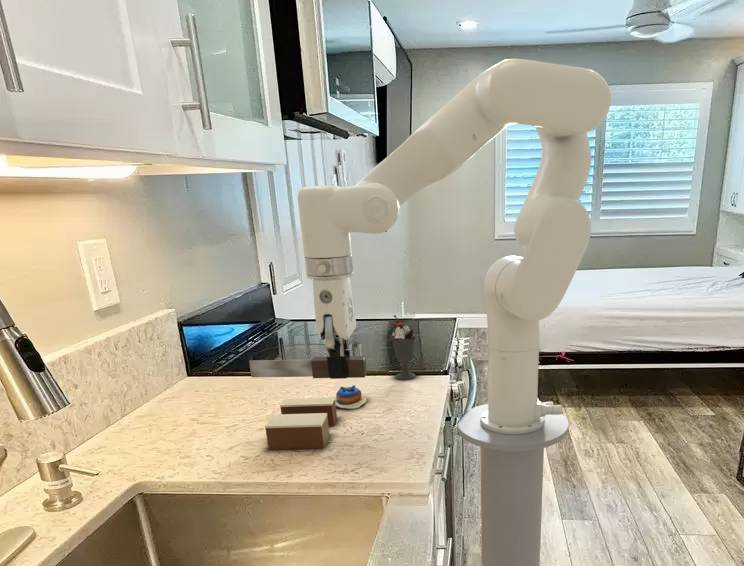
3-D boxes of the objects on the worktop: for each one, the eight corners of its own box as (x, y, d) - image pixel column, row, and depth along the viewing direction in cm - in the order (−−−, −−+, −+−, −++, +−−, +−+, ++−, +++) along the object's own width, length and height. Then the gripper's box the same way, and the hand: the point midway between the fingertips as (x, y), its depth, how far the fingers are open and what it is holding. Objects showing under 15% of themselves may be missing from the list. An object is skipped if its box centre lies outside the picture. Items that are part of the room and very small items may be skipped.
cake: (329, 435, 108) (327, 412, 106) (324, 448, 102) (321, 424, 101) (277, 436, 108) (273, 414, 106) (268, 449, 103) (264, 426, 101)
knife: (366, 373, 100) (365, 355, 99) (364, 377, 98) (363, 359, 97) (254, 375, 101) (251, 357, 100) (249, 379, 98) (246, 361, 97)
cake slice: (337, 418, 115) (334, 397, 114) (334, 425, 112) (331, 403, 110) (287, 420, 115) (284, 398, 114) (283, 426, 112) (280, 405, 110)
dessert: (356, 408, 118) (340, 384, 118) (335, 422, 121) (320, 399, 121) (375, 398, 125) (360, 375, 125) (355, 411, 128) (340, 389, 128)
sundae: (391, 373, 142) (387, 313, 136) (418, 371, 142) (415, 311, 137) (391, 381, 136) (387, 319, 130) (419, 379, 136) (416, 317, 130)
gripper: (343, 274, 85) (354, 390, 92) (360, 260, 100) (368, 361, 107) (293, 275, 85) (308, 391, 92) (317, 261, 100) (328, 362, 107)
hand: (340, 374), depth 99 cm, fingers closed on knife, 2 cm apart
